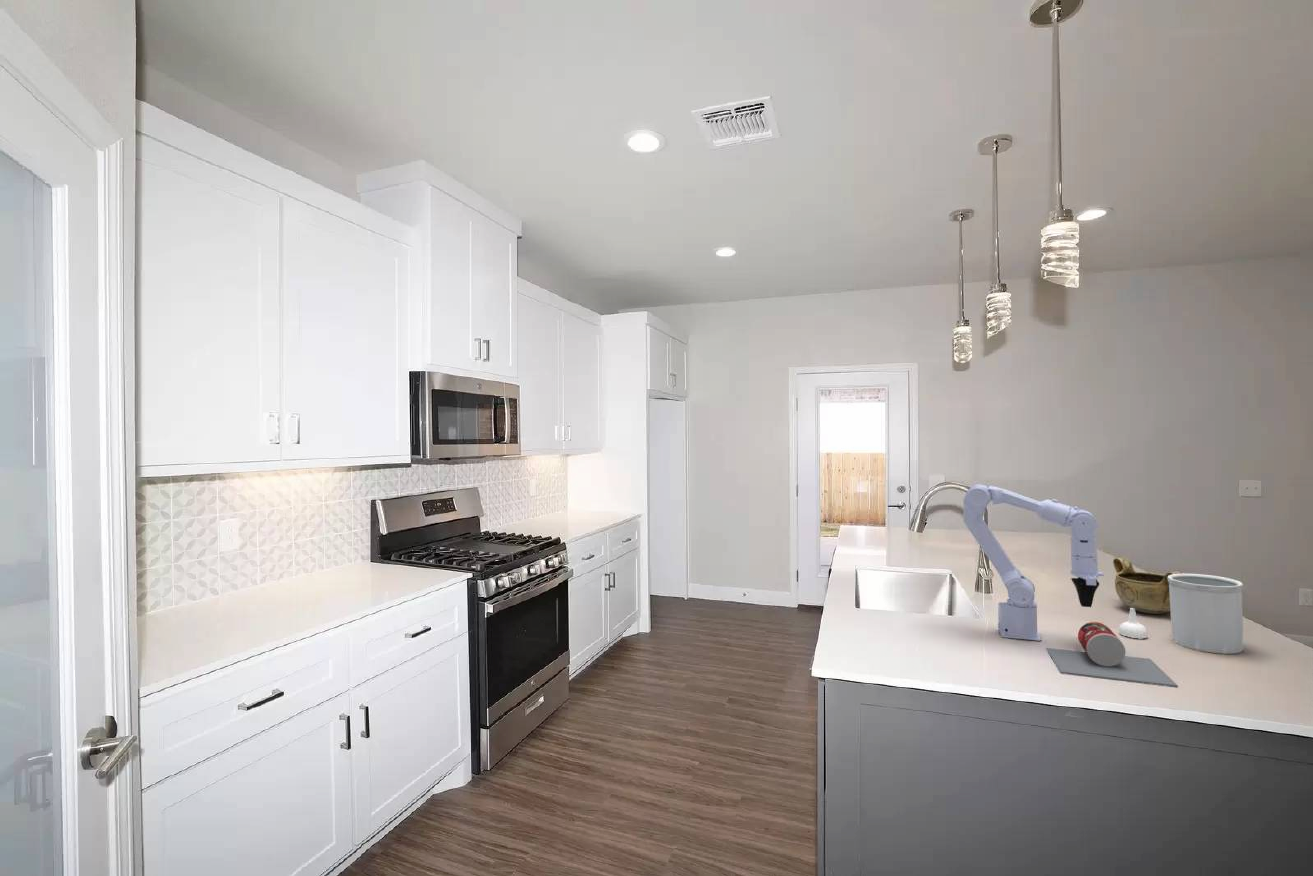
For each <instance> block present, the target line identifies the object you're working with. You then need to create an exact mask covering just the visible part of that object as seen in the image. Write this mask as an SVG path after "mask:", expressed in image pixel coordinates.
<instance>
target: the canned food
mask: <svg viewBox="0 0 1313 876" xmlns="http://www.w3.org/2000/svg"><path fill="white" fill-rule="evenodd" d="M1077 638H1078V639H1077V640H1078V642H1079V644H1080V645H1081V647H1082V648H1083V650H1084V652H1086V653H1087V654H1088V656H1089V657H1090V658H1091V659H1092V660H1093V661H1094V662H1095V663H1097V664H1099V665H1101V666H1106V667H1111V666H1115V665H1118V664H1119V663H1121V662H1122V661H1123V659H1124V657H1125V656H1126V647H1125V646H1124V643H1123V642H1122V640H1121V639H1120V638H1119V637H1118V636H1117V635H1116V634H1115V633H1114V632H1113V631H1112V629H1110V627H1108V625H1105V624H1104V623H1101V622H1098V621H1090V622H1087V623H1084V624H1083V625H1082V626H1081V627H1080V628H1079V630H1078V632H1077Z"/></svg>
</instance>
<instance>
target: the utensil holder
mask: <svg viewBox="0 0 1313 876" xmlns="http://www.w3.org/2000/svg"><path fill="white" fill-rule="evenodd" d="M1168 582H1169V593H1170V611H1169V612H1170V623H1171V637H1172V641H1173V642H1174V641H1175V642H1176V643H1175V642H1174V643H1175V644H1177V643H1178V644H1177V645H1179V644H1180V645H1179V646H1181V645H1182V646H1181V647H1184V646H1186V647H1185V648H1187V647H1189V648H1188V649H1191V648H1192V649H1191V650H1196V651H1200V650H1202V651H1201V652H1206V653H1212V654H1223V655H1224V654H1225V655H1227V654H1228V655H1231V654H1239V653H1241V652H1242V651H1243V646H1244V644H1243V638H1244V637H1243V636H1244V632H1243V631H1244V626H1243V625H1244V624H1243V616H1244V615H1243V593H1242V592H1243V590H1244V584H1243V583H1242V582H1241V581H1240V580H1236V579H1233V578H1229V577H1223V576H1218V575H1210V574H1202V573H1201V574H1200V573H1183V574H1172V575H1169V576H1168Z"/></svg>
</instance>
